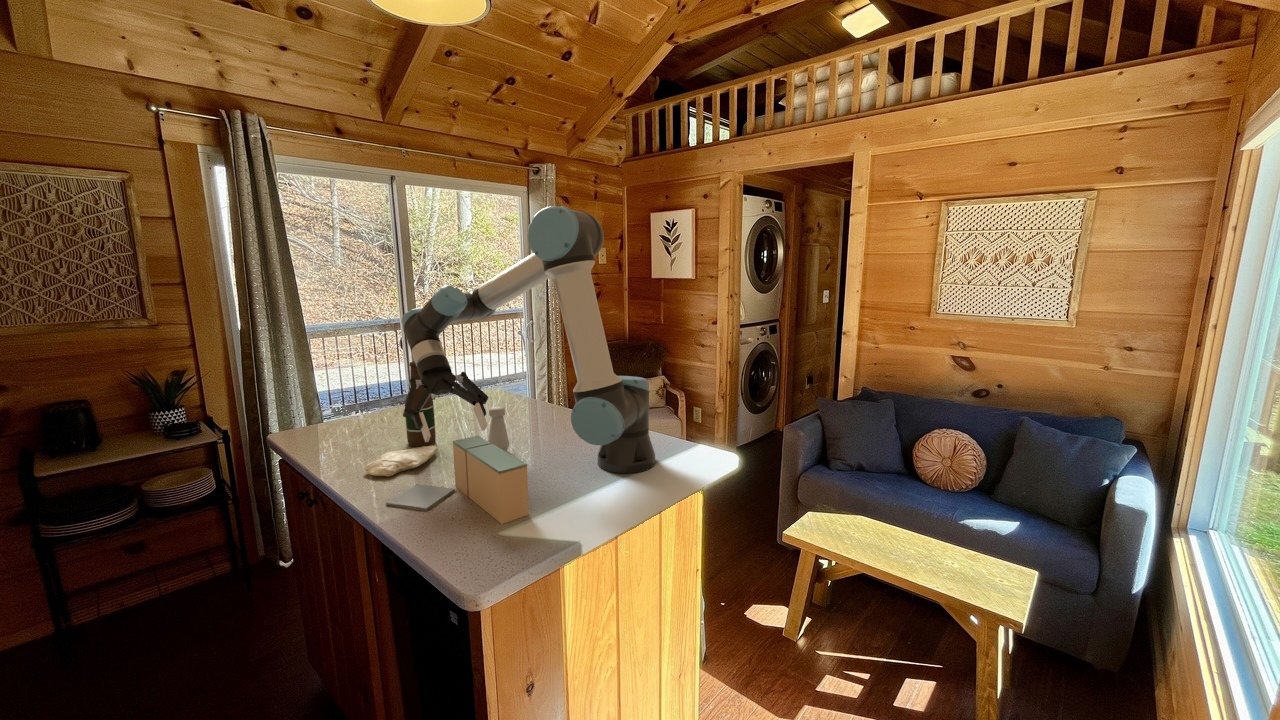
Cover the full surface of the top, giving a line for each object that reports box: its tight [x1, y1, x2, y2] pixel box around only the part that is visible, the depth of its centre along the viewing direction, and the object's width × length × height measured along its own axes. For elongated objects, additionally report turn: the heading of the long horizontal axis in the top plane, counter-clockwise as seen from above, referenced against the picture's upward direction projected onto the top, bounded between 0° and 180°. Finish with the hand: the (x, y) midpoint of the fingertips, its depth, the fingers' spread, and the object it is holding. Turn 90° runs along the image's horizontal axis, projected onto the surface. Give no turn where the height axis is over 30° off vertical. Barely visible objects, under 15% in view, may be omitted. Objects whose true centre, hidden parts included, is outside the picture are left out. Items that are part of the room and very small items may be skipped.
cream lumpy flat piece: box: [364, 445, 438, 478], centre depth 132 cm, size 4×13×20 cm
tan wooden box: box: [466, 444, 530, 525], centre depth 109 cm, size 16×6×11 cm, turn 41°
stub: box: [452, 435, 491, 497], centre depth 118 cm, size 7×6×11 cm
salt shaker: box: [487, 405, 510, 453], centre depth 140 cm, size 6×6×13 cm
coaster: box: [385, 483, 456, 512], centre depth 113 cm, size 10×10×1 cm
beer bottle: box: [404, 361, 437, 447], centre depth 147 cm, size 8×8×24 cm
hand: (457, 433), depth 121 cm, fingers open, 13 cm apart
